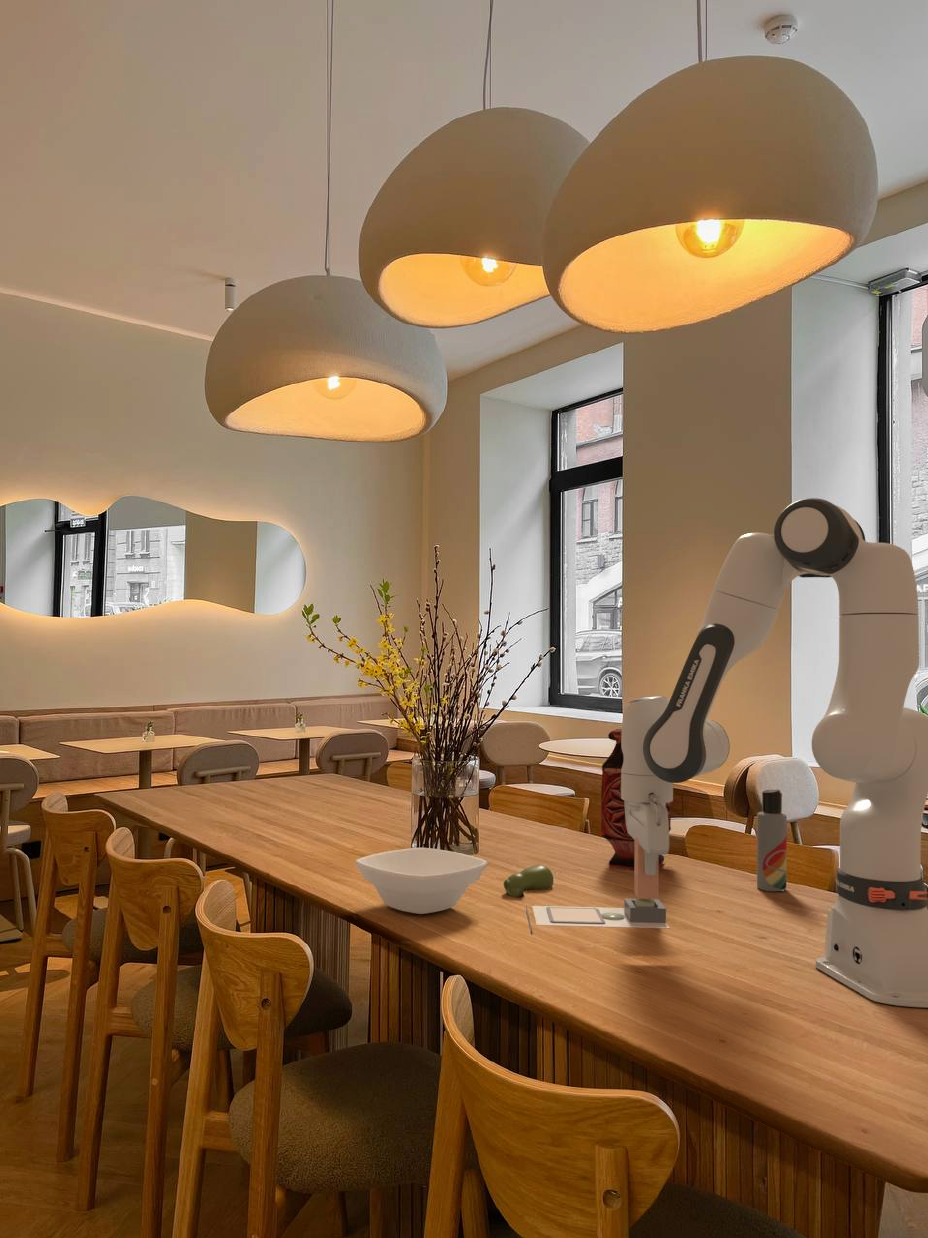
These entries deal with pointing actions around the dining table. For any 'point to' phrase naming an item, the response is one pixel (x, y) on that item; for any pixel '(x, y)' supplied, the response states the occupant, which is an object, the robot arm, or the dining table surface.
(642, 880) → the terracotta rectangular block
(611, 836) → the vase
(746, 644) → the robot arm
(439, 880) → the bowl
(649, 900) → the button
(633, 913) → the button housing
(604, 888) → the dining table surface
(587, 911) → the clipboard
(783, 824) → the lotion bottle
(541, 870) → the pear
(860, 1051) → the dining table surface
